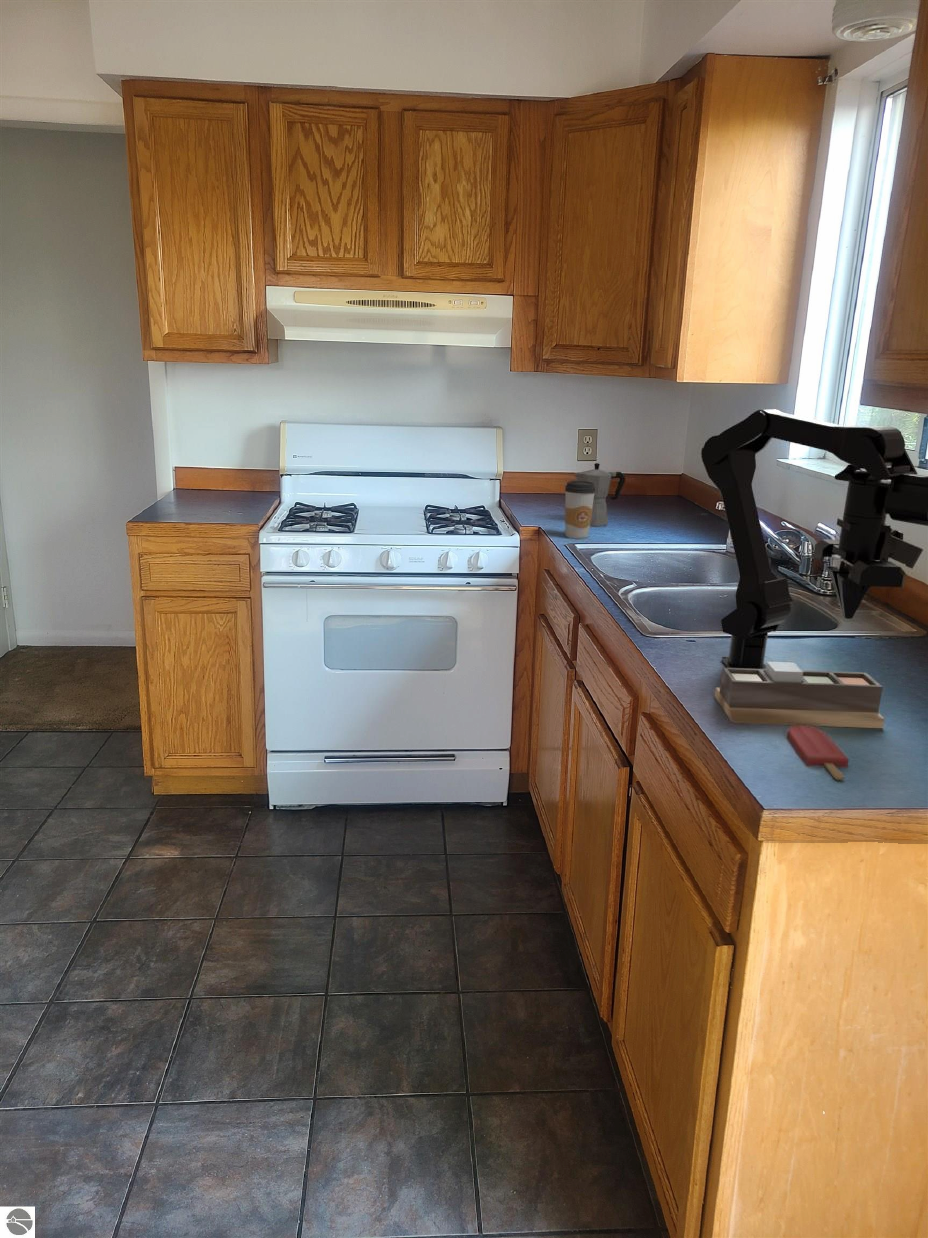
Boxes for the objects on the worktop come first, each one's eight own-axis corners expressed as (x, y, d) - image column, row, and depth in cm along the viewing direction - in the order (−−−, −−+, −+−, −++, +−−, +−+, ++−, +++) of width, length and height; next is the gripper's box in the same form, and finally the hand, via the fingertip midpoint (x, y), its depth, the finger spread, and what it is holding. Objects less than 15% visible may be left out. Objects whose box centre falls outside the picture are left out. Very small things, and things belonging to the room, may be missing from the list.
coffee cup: (567, 540, 245) (571, 485, 241) (557, 533, 253) (561, 480, 248) (596, 539, 247) (600, 485, 242) (585, 533, 255) (589, 480, 250)
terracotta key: (831, 695, 135) (834, 677, 134) (858, 696, 135) (861, 677, 134) (842, 706, 131) (845, 686, 130) (869, 707, 131) (873, 687, 130)
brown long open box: (714, 696, 138) (718, 662, 136) (854, 701, 138) (860, 667, 136) (732, 723, 128) (737, 687, 127) (882, 728, 128) (889, 692, 127)
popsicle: (819, 772, 112) (781, 723, 126) (817, 784, 112) (780, 733, 126) (863, 774, 112) (820, 725, 126) (861, 785, 112) (818, 735, 126)
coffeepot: (573, 526, 264) (578, 464, 258) (567, 520, 273) (571, 460, 267) (625, 527, 265) (630, 465, 260) (617, 521, 274) (622, 461, 269)
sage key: (797, 694, 135) (799, 675, 134) (823, 695, 135) (826, 676, 134) (806, 705, 131) (809, 685, 130) (834, 705, 131) (837, 686, 130)
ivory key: (727, 692, 135) (729, 673, 134) (754, 693, 135) (756, 674, 134) (734, 702, 131) (737, 683, 130) (762, 703, 131) (765, 684, 130)
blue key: (764, 680, 134) (766, 661, 133) (790, 681, 134) (793, 662, 133) (772, 690, 130) (775, 671, 129) (800, 691, 130) (803, 672, 129)
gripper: (953, 529, 122) (931, 639, 126) (891, 505, 139) (874, 602, 144) (870, 526, 122) (852, 636, 126) (819, 503, 139) (805, 600, 144)
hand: (847, 617), depth 135 cm, fingers closed
